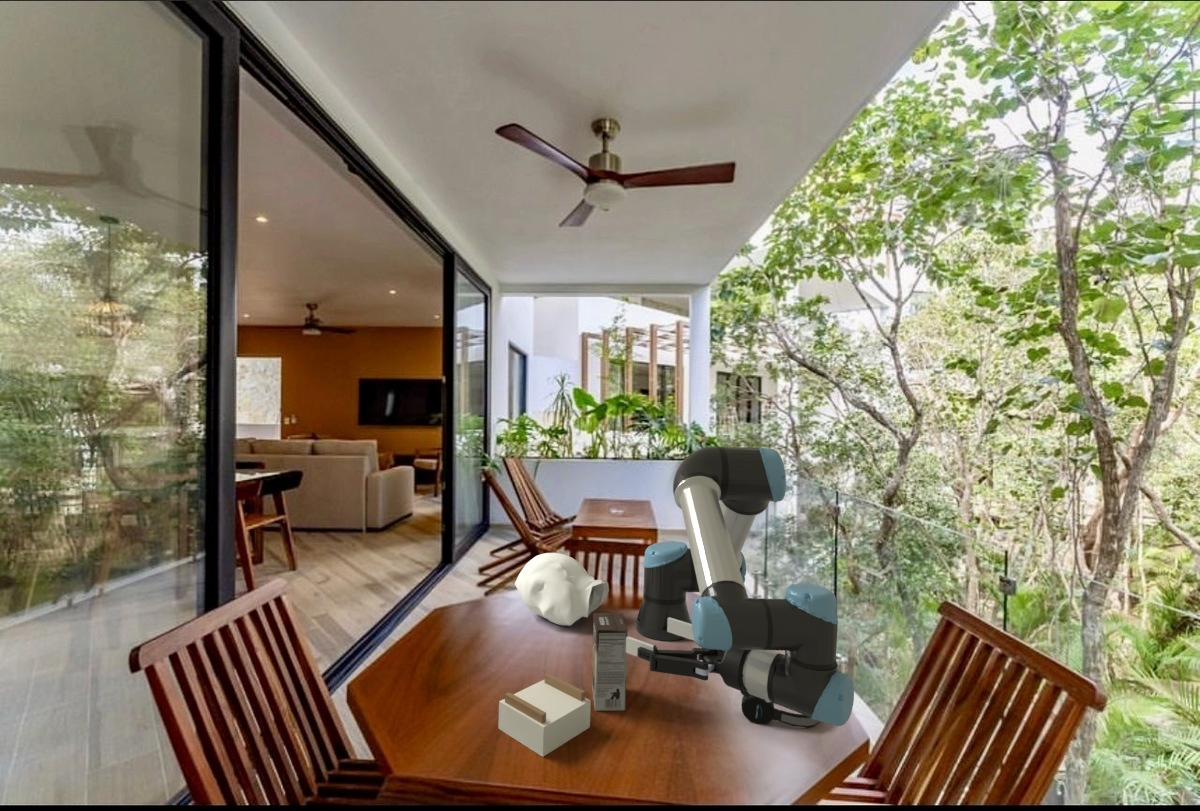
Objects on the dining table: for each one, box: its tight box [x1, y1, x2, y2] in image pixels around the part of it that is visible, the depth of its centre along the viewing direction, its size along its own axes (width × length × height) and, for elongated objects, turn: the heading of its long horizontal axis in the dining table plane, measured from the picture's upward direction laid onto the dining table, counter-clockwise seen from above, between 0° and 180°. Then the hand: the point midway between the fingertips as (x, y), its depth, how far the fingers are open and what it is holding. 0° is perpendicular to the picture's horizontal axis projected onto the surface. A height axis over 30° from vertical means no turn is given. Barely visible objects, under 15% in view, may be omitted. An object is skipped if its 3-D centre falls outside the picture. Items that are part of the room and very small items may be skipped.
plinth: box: [497, 673, 591, 758], centre depth 100 cm, size 12×12×6 cm
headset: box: [739, 690, 821, 728], centre depth 109 cm, size 13×9×19 cm
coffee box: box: [591, 612, 629, 712], centre depth 111 cm, size 9×6×16 cm
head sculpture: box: [514, 552, 610, 627], centre depth 154 cm, size 18×20×25 cm
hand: (648, 633), depth 104 cm, fingers open, 13 cm apart
